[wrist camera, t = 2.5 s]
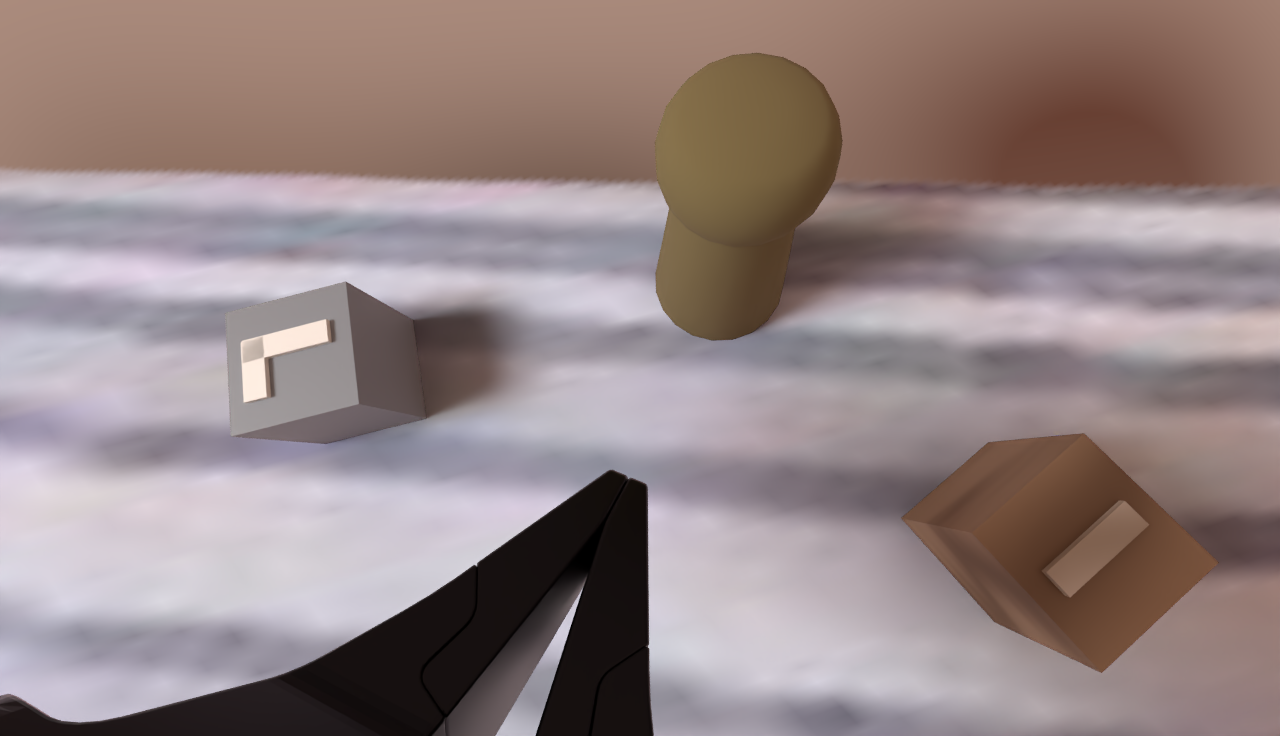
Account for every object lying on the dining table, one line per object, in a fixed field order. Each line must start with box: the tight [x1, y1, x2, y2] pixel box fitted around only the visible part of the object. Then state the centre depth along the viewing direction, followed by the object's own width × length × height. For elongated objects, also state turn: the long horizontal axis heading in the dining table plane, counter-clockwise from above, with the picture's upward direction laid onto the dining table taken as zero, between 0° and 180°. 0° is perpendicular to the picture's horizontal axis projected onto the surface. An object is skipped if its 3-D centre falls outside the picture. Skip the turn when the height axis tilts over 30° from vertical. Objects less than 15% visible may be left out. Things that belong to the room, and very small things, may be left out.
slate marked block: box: [225, 282, 427, 444], centre depth 21 cm, size 5×5×5 cm
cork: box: [655, 53, 842, 340], centre depth 18 cm, size 6×6×11 cm
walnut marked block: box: [902, 434, 1219, 673], centre depth 17 cm, size 5×5×5 cm
